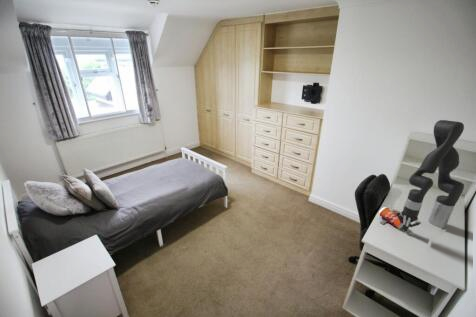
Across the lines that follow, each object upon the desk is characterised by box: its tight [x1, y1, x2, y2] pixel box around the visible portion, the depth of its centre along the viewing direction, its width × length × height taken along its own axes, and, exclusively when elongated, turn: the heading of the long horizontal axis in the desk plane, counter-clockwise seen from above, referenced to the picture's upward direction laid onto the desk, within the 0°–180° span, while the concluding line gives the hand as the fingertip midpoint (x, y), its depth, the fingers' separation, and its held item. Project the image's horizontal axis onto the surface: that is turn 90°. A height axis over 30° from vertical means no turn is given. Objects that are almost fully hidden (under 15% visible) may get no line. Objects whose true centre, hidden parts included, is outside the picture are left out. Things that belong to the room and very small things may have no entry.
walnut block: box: [391, 208, 401, 215], centre depth 151 cm, size 5×5×5 cm
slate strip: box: [379, 219, 389, 225], centre depth 149 cm, size 8×2×1 cm, turn 118°
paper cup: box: [378, 206, 403, 230], centre depth 147 cm, size 8×8×14 cm
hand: (404, 230), depth 138 cm, fingers closed
